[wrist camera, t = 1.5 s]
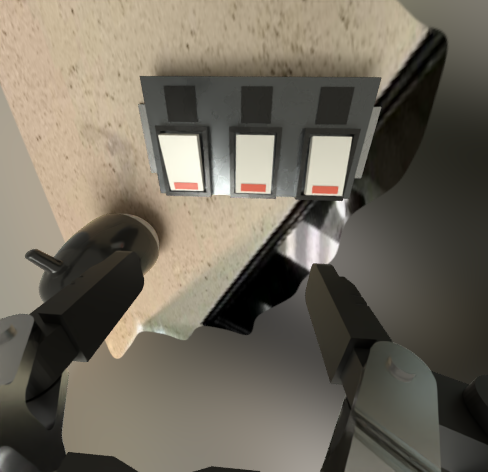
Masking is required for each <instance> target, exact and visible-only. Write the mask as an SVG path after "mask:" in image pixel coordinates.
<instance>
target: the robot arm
mask: <svg viewBox="0 0 488 472" xmlns="http://www.w3.org/2000/svg"><path fill="white" fill-rule="evenodd" d="M143 286H144V277H143V273H142V269H141V265H140V261H139V257H138V254H137V253H136V252H130V251H115V252H114V253H113V254H111V255H110V256H109V257H108V258H106V259H105V260H104V261H102V262H100V263H98V264H96V265H94V266H92V267H90V268H89V269H88V270H86V271H85V272H84V273H82V274H81V275H80V277H77V278H76V279H75V280H73V281H72V282H71V284H70V285H67V286H65V287H64V288H63V289H62V290H60V291H59V292H58V293H56V294H55V295H54V296H53V297H51V298H50V299H49V300H47V301H46V302H45V303H43V304H42V305H41V306H40V307H38V308H37V309H36V310H34V311H33V312H32V313H30V314H29V315H28V314H18V315H12V316H8V317H6V318H2V319H0V472H138V471H136V470H135V469H133V468H132V467H130V466H128V465H127V464H125V463H123V462H122V461H120V460H119V459H117V458H115V457H113V456H103V455H93V454H83V453H73V452H68V453H67V454H66V452H65V448H64V444H63V440H62V427H63V418H64V409H65V402H66V393H67V385H68V376H69V375H68V374H69V372H68V370H67V367H68V366H69V365H70V363H71V362H72V361H80V362H88V361H89V360H90V358H91V357H92V356H93V355H94V353H95V352H96V350H97V349H98V348H99V347H100V345H101V344H102V342H103V341H104V340H105V339H106V337H107V336H108V335H109V333H110V332H111V331H112V329H113V328H114V327H115V325H116V324H117V323H118V321H119V320H120V319H121V318H122V316H123V315H124V314H125V312H126V311H127V310H128V308H129V307H130V306H131V304H132V303H133V302H134V300H135V299H136V298H137V296H138V295H139V294H140V292H141V291H142V289H143ZM305 298H306V304H307V308H308V311H309V314H310V318H311V321H312V324H313V327H314V331H315V334H316V337H317V341H318V344H319V347H320V350H321V353H322V357H323V360H324V363H325V367H326V370H327V373H328V376H329V380H330V383H331V384H341V385H343V387H344V390H345V393H346V396H345V398H344V401H343V404H342V407H341V410H340V414H339V416H338V420H337V423H336V426H335V429H334V432H333V435H332V439H331V442H330V445H329V448H328V451H327V454H326V457H325V460H324V463H323V465H322V468H321V470H320V472H488V375H482V376H479V377H477V378H476V379H475V380H474V381H473V382H472V383H471V384H470V385H469V384H466V383H463V382H460V381H458V380H455V379H452V378H449V377H447V376H444V375H441V374H438V373H435V372H433V371H430V369H429V368H428V367H427V365H426V364H425V363H424V362H423V361H422V360H421V359H420V358H419V357H418V356H416V355H415V354H414V353H412V352H411V351H410V350H408V349H406V348H405V347H403V346H400V345H398V344H396V343H393V342H392V340H391V339H390V337H389V336H388V335H387V333H386V331H385V330H384V329H383V327H382V325H381V324H380V323H379V321H378V319H377V318H376V316H375V315H374V313H373V312H372V311H371V309H370V307H369V306H367V303H366V302H365V300H364V299H363V297H361V294H360V293H359V291H358V290H357V288H356V287H355V285H353V284H352V283H351V282H350V281H349V280H347V279H346V278H345V277H339V275H338V274H337V272H336V270H335V269H334V267H333V266H332V265H330V264H315V263H314V264H312V267H311V270H310V275H309V279H308V283H307V287H306V293H305ZM194 472H260V471H252V470H243V469H233V468H223V467H213V466H211V467H208V468H205V469H201V470H198V471H194Z"/></svg>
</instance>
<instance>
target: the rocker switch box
mask: <svg viewBox="0 0 488 472" xmlns="http://www.w3.org/2000/svg"><path fill="white" fill-rule="evenodd" d="M140 80H141V86H142V91H143V97H144V102H145V104H138V107H139V112H140V117H141V123H142V128H143V133H144V138H145V143H146V148H147V153H148V159H149V164H150V169H151V173H157V174H158V180H159V185H160V191H161V193H166V195H168V196H200V197H211V196H212V195H230V197H233V198H265V199H276V196H278V197H294V198H295V199H298V200H330V201H343V198H344V199H349V196H350V192H351V189H352V185H353V181H354V178H361V176H362V173H363V169H364V166H365V162H366V159H367V155H368V152H369V148H370V145H371V141H372V138H373V134H374V131H375V127H376V124H377V120H378V117H379V113H380V110H381V107H374V103H375V100H376V96H377V92H378V89H379V85H380V81H381V77H215V76H140ZM162 133H164V134H199V140H200V148H201V156H202V165H203V173H204V181H205V189H204V191H185V190H171V188H170V184H169V180H168V175H167V171H166V167H165V163H164V158H163V154H162V150H161V146H160V141H159V137H158V135H159V134H162ZM236 135H274V149H273V165H272V180H271V194H260V193H236ZM313 136H334V137H352V141H351V147H350V153H349V159H348V165H347V171H346V176H345V182H344V188H343V194H342V196H327V195H305V194H304V189H305V180H306V172H307V163H308V154H309V145H310V138H311V137H313Z"/></svg>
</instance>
